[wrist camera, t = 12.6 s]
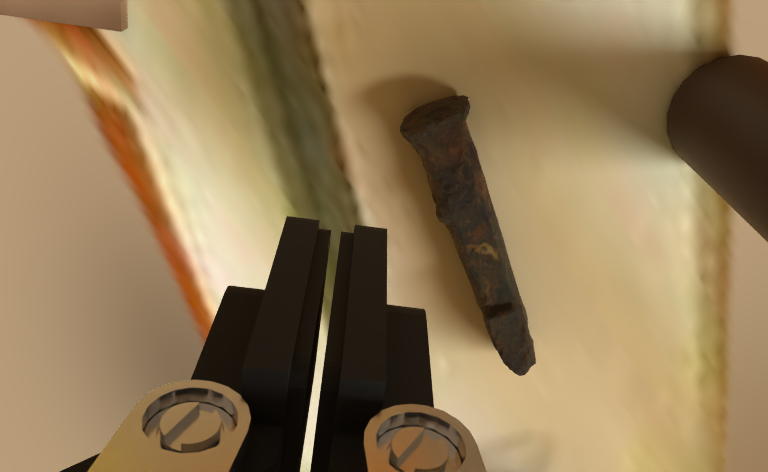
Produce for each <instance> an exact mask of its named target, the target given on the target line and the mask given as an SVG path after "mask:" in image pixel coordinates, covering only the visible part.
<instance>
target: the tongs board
mask: <svg viewBox="0 0 768 472" xmlns="http://www.w3.org/2000/svg"><path fill="white" fill-rule="evenodd" d="M0 15H7V16H15V17H22V18H29V19H36V20H43V21H50V22H57V23H64V24H71V25H78V26H86V27H93V28H100V29H107V30H114V31H123V30H125V29H127V28H128V25H127V0H0Z"/></svg>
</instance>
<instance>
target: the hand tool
mask: <svg viewBox="0 0 768 472" xmlns="http://www.w3.org/2000/svg"><path fill="white" fill-rule="evenodd" d="M469 109H470V103H469V101H468V97H466V96H463V95H462V96H451V97H449V98H446V99H443V100H438V101H434V102H431V103H428V104H426V105H423V106H421V107H420V108H418V109H416V110H414V111H413V112H411V113H410V114H408V115H407V116H405V118H404V119H403V123H402V125H401V126H400V132H401V134H402V135H403V137H404V138H406V139H407V140H408V141H409V142H410V143H411V145H412V146H413V148H415V149H416V151H417V153H418V154H419V155H420V156H421V158H422V161H423V164H424V167H425V170H426V172H427V177H428V182H429V185H430V188H431V190H432V197H433V200H434V202H435V203H436V215H437V217H438V219H439V221H440V222H442V223H444V224H445V225H446V227H447V228H448V230H449V231H450V233H451V236H452V238H453V240H454V243H455V246H456V249H457V251H458V254H459V257H460V259H461V262H462V264H463V266H464V269H465V271H466V273H467V276H468V278H469V280H470V283H471V286H472V288H473V291H474V294H475V298H476V301H477V303H478V305H479V307H480V309H481V311H482V313H483V317H484V321H485V325H486V328H487V330H488V333H489V335H490V337H491V340H492V342H493V345H494V347H495V348H496V350H497V351H498V353H499V355H500V357H501V359H502V360H503V362H504V364H505V365H506V366H508V368H509V369H510V370H512V371H513V372H514V373H515V374H517V375H519V376H521V375H525V374H526V373H527V372H528V371H529V369H530V367H531V366H533V365H534V364H536V359H535V352H534V346H533V340H532V338H531V336H530V333H529V329H528V321H527V319H528V318H527V314H526V310H525V307H524V305H523V302H522V300H521V296H520V295H519V291H518V288H517V284H516V281H515V278H514V274H513V271H512V268H511V265H510V261H509V258H508V254H507V251H506V247H505V243H504V240H503V237H502V233H501V230H500V227H499V224H498V220H497V217H496V214H495V211H494V208H493V204H492V201H491V198H490V195H489V191H488V188H487V184H486V180H485V177H484V174H483V172H482V169H481V165H480V162H479V159H478V154H477V150H476V148H475V145H474V143H473V141H472V138H471V136H470V133H469V130H468V127H467V124H466V118H467V116H468V114H469Z"/></svg>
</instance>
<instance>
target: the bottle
mask: <svg viewBox="0 0 768 472" xmlns="http://www.w3.org/2000/svg"><path fill="white" fill-rule="evenodd" d="M667 133H668V136H669V138H670V141H671V144H672V147H673V149H674V150H675V151H676V152H677V153H678V154H679V156H680V157H681V158H682V159H683V160H684V161H685V162H686V163H687V164H688V165H689V166H690V167H691V168H692V169H693V170H694V171H695V172H696V173H697V174H698V175H699V176H700V177H701V178H702V179H703V180H704V181H705V182H706V183H708V184H709V185H710V186H711V187H712V188H713V189H714V190H715V191H716V192H717V193H718V194H719V195H720V196H721V197H722V198H723V199H724V200H725V201H726V202H727V203H728V204H729V205H730V206H731V207H732V208H733V209H734V210H735V211H736V212H737V213H738V214H739V215H740V216H741V217H743V218H744V219H745V220H746V221H747V222H748V223H749V224H750V225H751V226H752V227H753V228H754V229H755V230H756V231H757V232H758V233H759V234H760V235H761V236H762V237H763V238H764V239H765V240H766V241H767V242H768V62H767V61H765V60H763V59H761V58H758V57H751V56H745V55H736V56H730V57H724V58H719V59H716V60H714V61H712V62H710V63H708V64H706V65H704V66H702V67H700V68H699V69H698V70H696V71H695V72H694V73H693V74H692V75H690V76H689V77H688V78H687V79H686V80H685V81H684V82H683V84H682V85H681V86H680V88H679V89H678V91H677V92H676V94H675V95H674V96H673V99H672V102H671V105H670V108H669V111H668V114H667Z"/></svg>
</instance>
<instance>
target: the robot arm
mask: <svg viewBox="0 0 768 472" xmlns="http://www.w3.org/2000/svg"><path fill="white" fill-rule="evenodd" d="M330 236H331V230H324V229H319V220H312V219H305V218H297V217H289V216H287V218H286V221H285V224H284V228H283V231H282V234H281V238H280V241H279V245H278V248H277V251H276V255H275V258H274V262H273V265H272V268H271V272H270V275H269V278H268V282H267V285H266V289H265V290H262V289H253V288H245V287H237V286H228V287H227V289H226V291H225V293H224V296H223V298H222V301H221V304H220V306H219V309H218V311H217V314H216V316H215V319H214V322H213V324H212V327H211V329H210V332H209V334H208V337H207V339H206V342H205V345H204V347H203V350H202V352H201V355H200V358H199V360H198V363H197V365H196V368H195V370H194V373H193V375H192V378H191V380H186V381H177V382H173V383H170V384H167V385H164V386H160V387H159V388H157V389H155V390H153V391H151V392H150V393H148V394H146V395H145V396H144V397H143V398H142V399H141V400H140V401H139V402H138V403H137V404H136V405H135V406H134V407H133V409H132V410H131V411H130V413H129V414H128V416H127V417H126V418H125V420H124V421H123V423H122V424H121V425H120V427H119V428H118V430H117V431H116V432H115V434H114V435H113V437H112V438H111V440H110V441H109V442H108V444H107V445H106V447H105V448H104V449H103V451H102V452H101V453H99V454H97V455H95V456H93V457H91V458H88V459H86V460H84V461H82V462H80V463H78V464H75V465H73V466H71V467H69V468H67V469H64V470H62V471H60V472H300V466H301V459H302V453H303V446H304V439H305V432H306V426H307V419H308V412H309V406H310V399H311V392H312V385H313V379H314V371H315V364H316V355H317V347H318V338H319V330H320V321H321V313H322V304H323V296H324V287H325V279H326V270H327V262H328V253H329V245H330ZM310 472H486V469H485V466H484V464H483V461H482V458H481V455H480V452H479V449H478V446H477V444H476V442H475V440H474V438H473V436H472V435H471V433H470V431H469V430H468V429H467V428H466V427H465V426H464V425H463V424H462V423H461V422H460V421H459V420H458V419H456V418H454V417H453V416H451V415H449V414H448V413H446V412H444V411H442V410H439V409H436V408H434V404H433V392H432V380H431V368H430V356H429V344H428V332H427V320H426V312H425V310H424V309H419V308H410V307H402V306H394V305H387V229H383V228H375V227H367V226H360V225H355V228H354V233H348V232H341V238H340V246H339V254H338V261H337V269H336V276H335V284H334V292H333V299H332V307H331V314H330V322H329V329H328V337H327V345H326V352H325V360H324V367H323V375H322V383H321V391H320V399H319V407H318V415H317V423H316V431H315V439H314V447H313V455H312V463H311V471H310Z"/></svg>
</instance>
